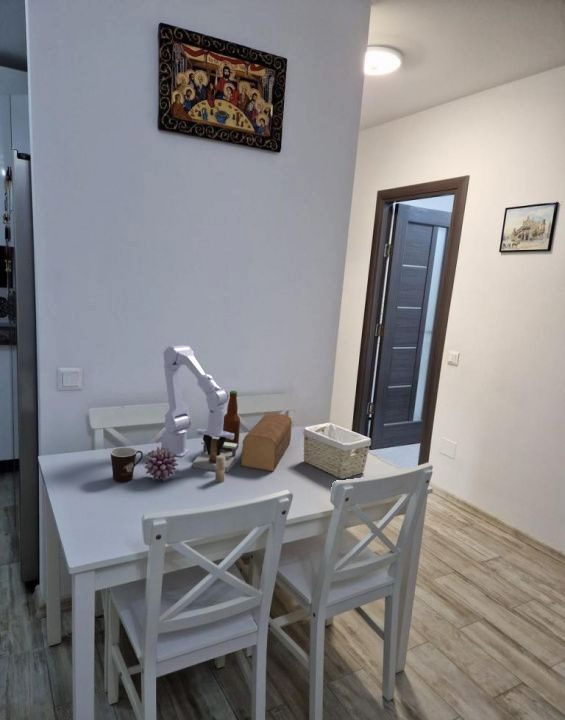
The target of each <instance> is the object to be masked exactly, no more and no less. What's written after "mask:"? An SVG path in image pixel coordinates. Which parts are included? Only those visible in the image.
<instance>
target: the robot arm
mask: <svg viewBox="0 0 565 720" xmlns="http://www.w3.org/2000/svg"><path fill="white" fill-rule="evenodd" d="M162 353H163V362H164V364H163V368H164V369H163V371H164V376H165V383H166V393H167V399H168V406H169V409H168V411H166V413H165V415H164V418H165V419H164V428H165V430H164V431H163V432H162V435H161V444H160V449H161V448H163V449H164V450H166V449H167V448H169V449H168V451H170V453H171V452H172V454H176V456H175V457H184V455H185V454H187V453H188V451H190V449H189V448H187V434H188V431H189V428H190V427H191V425H192V419H191V417H190V414H189V410H188V409H187V408H185V407H184V402H183V401H184V400H183V394H182V387H181V380H180V370H179V369H180V368H181V367H182V365H183V366H186V367H187V369H188V370H189V371H190V372H191V373H192V374H193V376H194V377H195V378H196V379H197V385H198V387H200V389H201V391H202V392H203V394H205V396H206V398H205V399H206V400H205V401H206V403H207V405H208V407H207V408H208V425H207V428H206V429H205V428H197V429H196V431H195V432H196V435H195V436H203V437H202V441H204V443H205V445H206V448H207V453H208V455H210V442H211V439H213V438H217V439H218V440H217V442H218V451H217V456H219V455H220V454H221V453H222V450H223V448H222V447H223V445H224V443H225V441H226V439H227V438H228V439H231V440H233V439H234V433H229V432H226V431H223V422H224V416H225V407H226V406H225V404H226V403H228V402H229V394H228V392H227V390H226V389H224V388H221V386H219V385H218V383H216V381H215V380H214V379H213V378H214V377H213V376H212V375H210V374H206V373H205V372H204V370H203V368H202V367H201V365H200V364H199V362H198V361H197V359H196V357H195V356H194V355H195V351H193V350H192V348H191V346H190V345H189V344H184V345H183V344H181V345H175V346H168V347H166V348H165V350H164V351H163V352H162Z"/></svg>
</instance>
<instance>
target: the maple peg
mask: <svg viewBox="0 0 565 720" xmlns="http://www.w3.org/2000/svg"><path fill="white" fill-rule="evenodd" d="M225 458H226V457H225V456H222V455H219V456H217V458H216V471H215V479H214V481H215V482H216V483H224V482H225V473H226V472H225Z"/></svg>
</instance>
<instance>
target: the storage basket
mask: <svg viewBox="0 0 565 720" xmlns="http://www.w3.org/2000/svg"><path fill="white" fill-rule="evenodd" d="M319 432H321V433H319ZM302 433H303V440H304V441H303V461H304V462H305V463H307V464H308V463H309V465H311V466H314V467H315V468H317V467H318V469H320V470H321V469H322V471H323V472H325V473H327V472H328V473H327V474H330V475H332V476H335V477H336V478H339V479H348V478H350V477H352V476H357V475H359V474H362V473H364V472H365V467H366V465H367V459H368V453H369V450H370V446H371V444H372V439H371V438H370V437H367V436H365V435H363V434H360V433H358V432H355V431H352V430H350V429H346V428H345V427H342V426H339V425H337V424H334V423H332V422H326V423H319V424H315V425H311V426H306V427H304V430H303V432H302Z"/></svg>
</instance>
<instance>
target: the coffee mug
mask: <svg viewBox="0 0 565 720" xmlns="http://www.w3.org/2000/svg"><path fill="white" fill-rule="evenodd" d="M138 453H140V458H139V460H137V461H136V458H137V454H138ZM143 455H144V453H143V451H141V450H136V449H135V448H133V447H118V448H117V447H116V448H114V449H112V450H111V451H110V460H111V470H112V478H113V479H112V480H113V482H115V483H118V484H125V483H129V482H131V481H132V480H133V477H134V472H135V471H134V470H135V467H136V466H138V464H139V463H140V462H141V460H142V458H143Z"/></svg>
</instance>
